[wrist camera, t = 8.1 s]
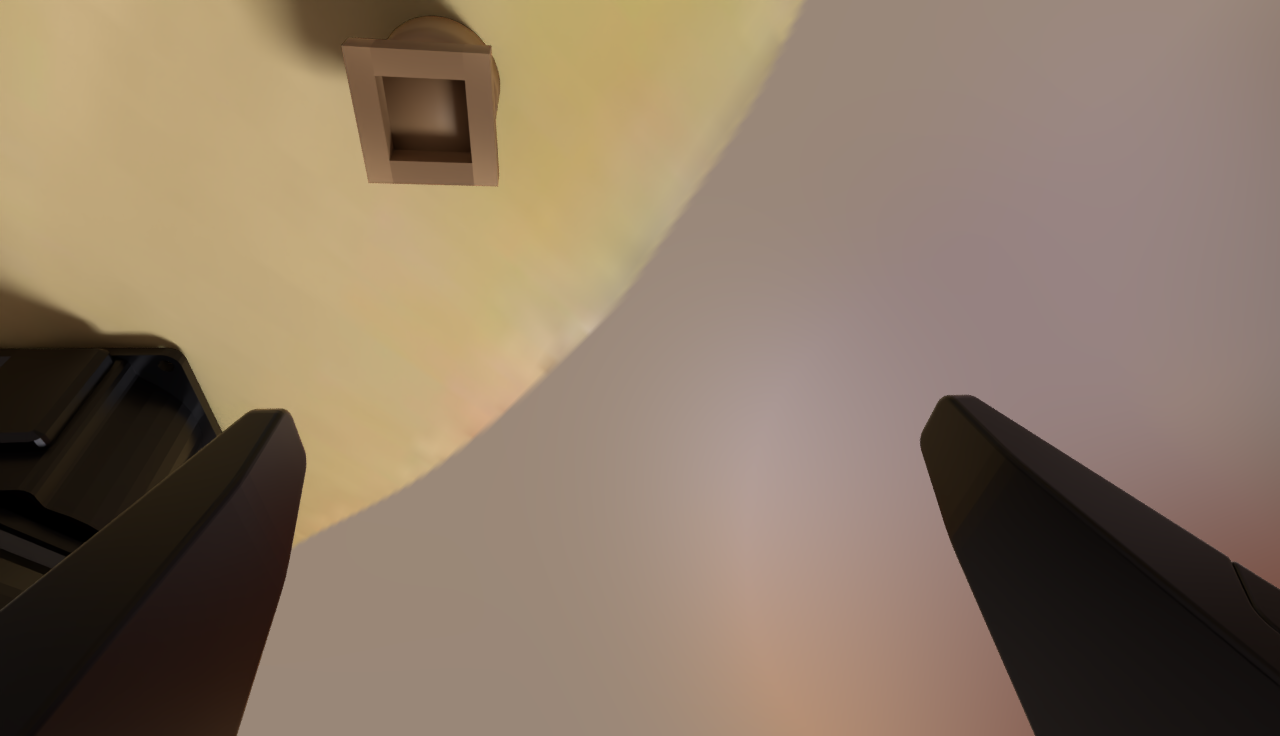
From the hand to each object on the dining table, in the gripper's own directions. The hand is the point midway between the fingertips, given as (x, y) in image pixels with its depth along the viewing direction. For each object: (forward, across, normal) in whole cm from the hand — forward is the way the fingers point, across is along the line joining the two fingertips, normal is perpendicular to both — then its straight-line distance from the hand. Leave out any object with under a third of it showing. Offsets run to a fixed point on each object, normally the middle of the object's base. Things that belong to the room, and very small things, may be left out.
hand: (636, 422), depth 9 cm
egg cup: (+13, +4, 0) cm, 14 cm away
